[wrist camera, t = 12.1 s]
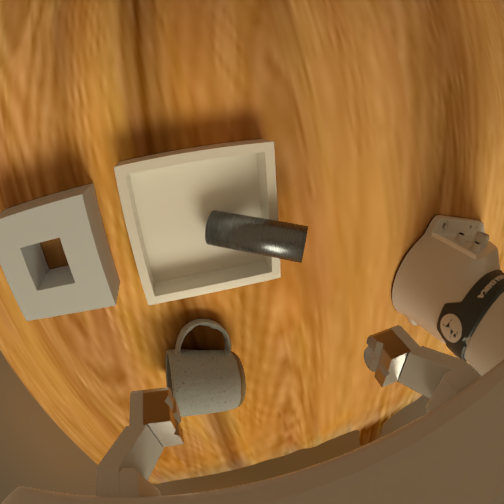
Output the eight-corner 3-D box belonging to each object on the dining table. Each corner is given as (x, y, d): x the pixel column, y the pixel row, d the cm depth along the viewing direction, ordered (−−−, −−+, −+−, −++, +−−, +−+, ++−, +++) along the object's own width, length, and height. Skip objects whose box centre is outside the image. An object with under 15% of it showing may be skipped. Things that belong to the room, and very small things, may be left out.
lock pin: (215, 203, 26) (309, 218, 24) (218, 228, 28) (305, 244, 26) (203, 226, 24) (304, 245, 22) (207, 251, 26) (299, 270, 24)
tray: (262, 138, 26) (273, 141, 23) (270, 263, 31) (280, 277, 29) (119, 161, 23) (113, 167, 20) (148, 288, 29) (148, 305, 26)
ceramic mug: (228, 378, 37) (243, 423, 30) (165, 380, 35) (171, 429, 28) (238, 313, 33) (259, 360, 26) (164, 314, 31) (168, 364, 24)
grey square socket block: (93, 182, 23) (82, 194, 19) (119, 282, 27) (115, 305, 24) (5, 209, 21) (-14, 223, 17) (37, 298, 25) (26, 320, 22)
